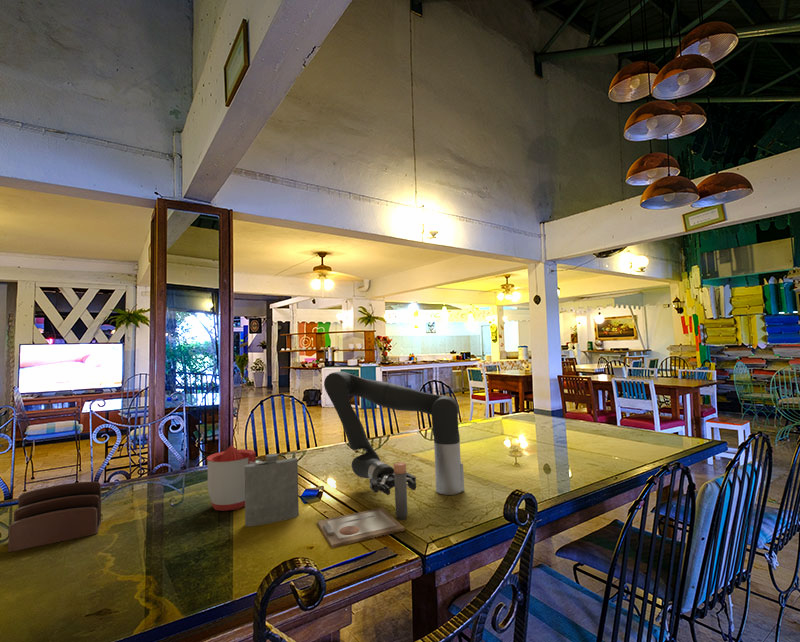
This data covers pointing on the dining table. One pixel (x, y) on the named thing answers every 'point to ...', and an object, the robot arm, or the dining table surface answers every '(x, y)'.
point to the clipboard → (358, 527)
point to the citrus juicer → (228, 477)
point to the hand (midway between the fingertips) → (402, 489)
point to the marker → (400, 490)
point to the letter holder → (55, 515)
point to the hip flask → (271, 491)
